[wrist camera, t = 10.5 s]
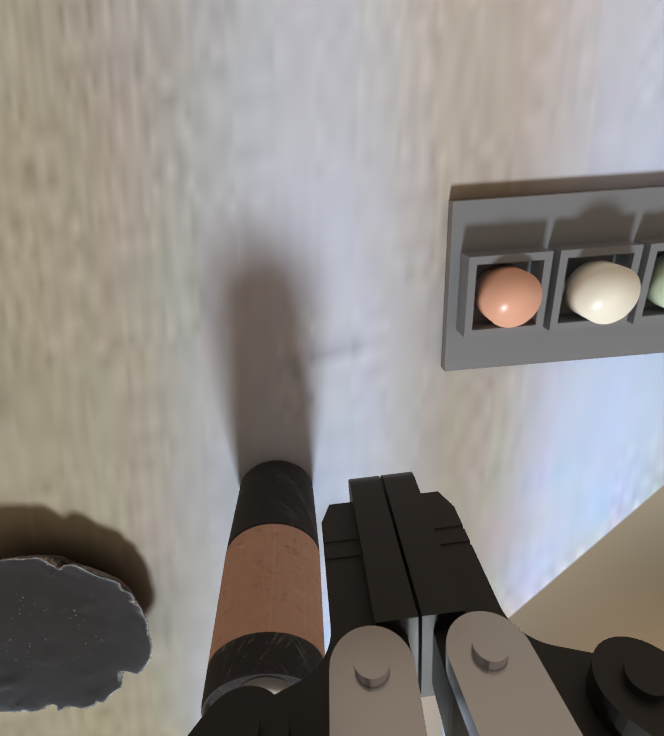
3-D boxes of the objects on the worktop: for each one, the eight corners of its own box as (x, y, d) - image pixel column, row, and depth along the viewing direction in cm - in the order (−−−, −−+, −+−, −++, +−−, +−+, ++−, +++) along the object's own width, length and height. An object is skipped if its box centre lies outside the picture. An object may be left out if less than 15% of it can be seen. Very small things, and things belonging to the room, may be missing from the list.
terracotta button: (475, 265, 35) (487, 273, 33) (530, 261, 35) (546, 268, 33) (470, 319, 37) (482, 329, 35) (523, 315, 37) (538, 325, 35)
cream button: (568, 261, 35) (587, 268, 32) (624, 257, 35) (646, 264, 33) (559, 316, 37) (577, 326, 34) (612, 311, 37) (633, 322, 35)
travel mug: (298, 447, 43) (302, 657, 25) (326, 505, 46) (346, 728, 28) (224, 472, 44) (174, 695, 25) (256, 528, 47) (232, 762, 29)
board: (-104, 581, 46) (-147, 627, 41) (79, 491, 44) (57, 528, 40) (44, 693, 55) (23, 741, 50) (202, 620, 53) (195, 663, 49)
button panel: (449, 200, 35) (462, 203, 32) (724, 181, 36) (759, 183, 33) (441, 366, 40) (451, 381, 38) (677, 346, 41) (704, 359, 39)
